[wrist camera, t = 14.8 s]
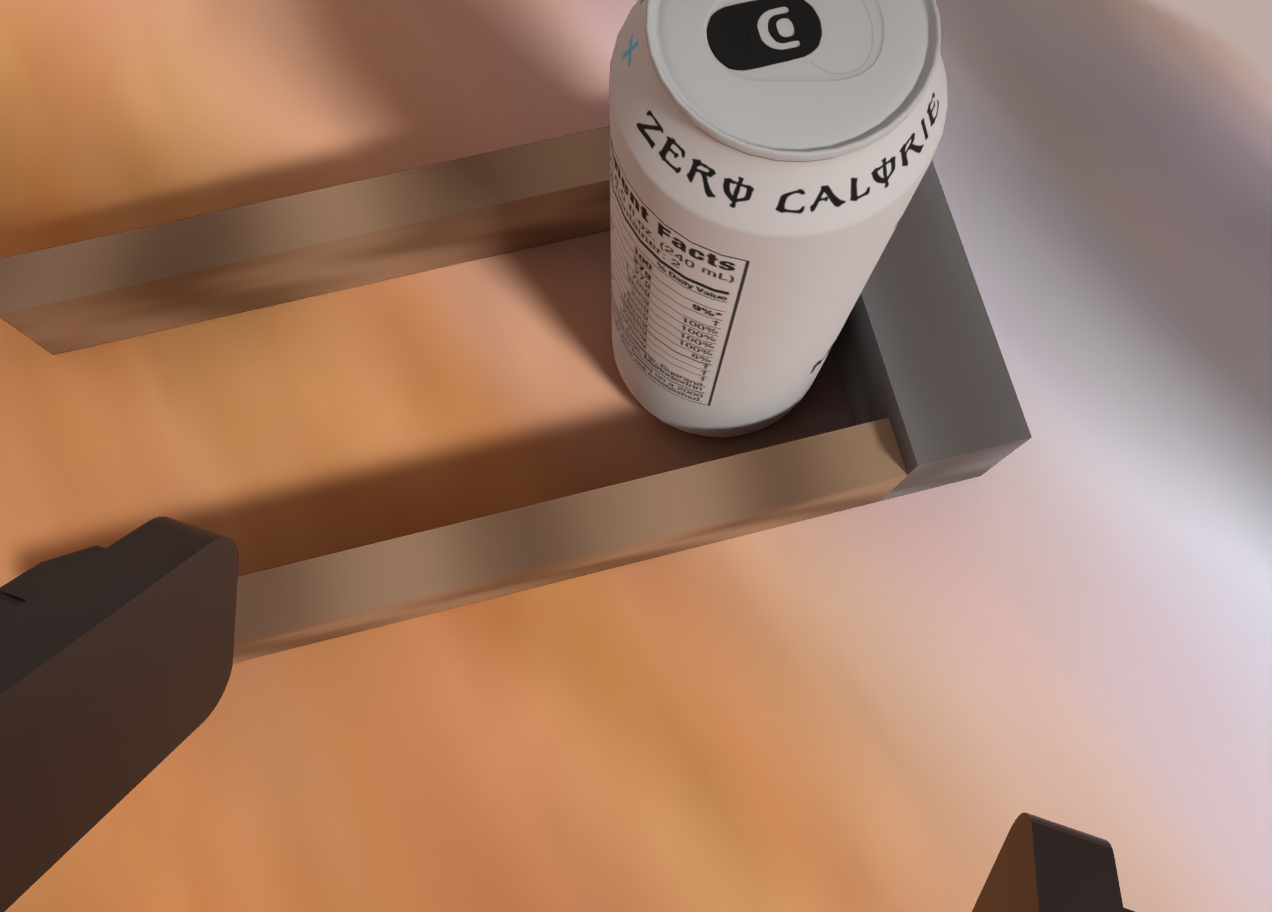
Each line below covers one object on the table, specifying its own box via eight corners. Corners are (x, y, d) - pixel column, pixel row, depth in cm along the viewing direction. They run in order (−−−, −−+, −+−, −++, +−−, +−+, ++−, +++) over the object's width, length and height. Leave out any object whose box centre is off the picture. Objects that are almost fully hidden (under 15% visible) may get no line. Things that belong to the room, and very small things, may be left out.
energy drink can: (842, 418, 32) (1031, 143, 17) (640, 469, 31) (662, 228, 17) (783, 233, 33) (911, -163, 19) (590, 278, 33) (569, -92, 18)
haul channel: (859, 124, 34) (890, 45, 31) (980, 475, 32) (1031, 437, 28) (46, 304, 32) (-31, 244, 28) (97, 697, 30) (19, 689, 26)
